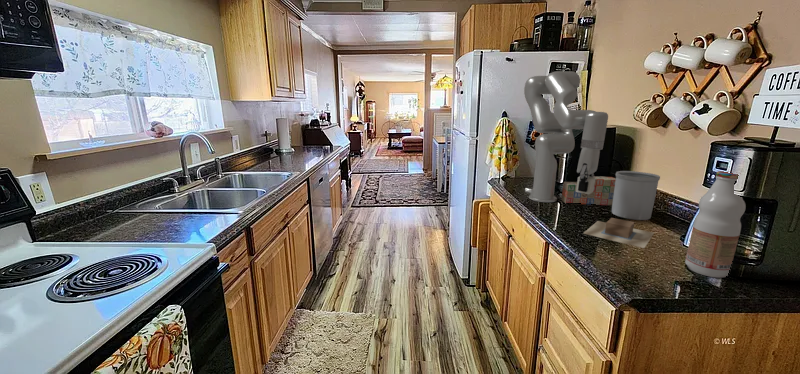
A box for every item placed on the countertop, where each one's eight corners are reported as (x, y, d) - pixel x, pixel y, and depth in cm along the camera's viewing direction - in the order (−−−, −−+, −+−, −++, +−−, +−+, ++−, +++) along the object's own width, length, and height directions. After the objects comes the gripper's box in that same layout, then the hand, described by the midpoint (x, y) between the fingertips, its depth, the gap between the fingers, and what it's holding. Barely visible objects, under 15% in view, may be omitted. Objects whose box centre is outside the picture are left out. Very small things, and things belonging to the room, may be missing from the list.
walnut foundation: (604, 233, 120) (606, 222, 119) (609, 227, 124) (611, 217, 123) (627, 238, 115) (629, 227, 114) (632, 232, 120) (634, 222, 119)
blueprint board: (582, 236, 120) (582, 233, 119) (597, 223, 132) (597, 220, 132) (643, 251, 108) (644, 248, 107) (653, 235, 120) (654, 232, 120)
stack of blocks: (565, 204, 158) (568, 178, 155) (561, 200, 164) (564, 175, 161) (614, 205, 155) (618, 179, 152) (608, 201, 161) (612, 176, 158)
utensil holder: (611, 207, 152) (617, 169, 148) (652, 213, 144) (659, 173, 140) (608, 216, 140) (614, 174, 136) (652, 223, 132) (660, 179, 128)
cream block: (575, 191, 136) (577, 177, 134) (579, 189, 139) (582, 175, 138) (589, 194, 132) (591, 179, 131) (593, 191, 136) (595, 177, 134)
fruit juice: (683, 271, 95) (705, 173, 88) (684, 259, 102) (705, 167, 95) (730, 282, 89) (757, 178, 82) (727, 269, 96) (752, 172, 89)
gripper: (588, 141, 139) (581, 183, 144) (574, 145, 127) (567, 192, 132) (609, 143, 134) (601, 187, 139) (596, 148, 122) (588, 196, 127)
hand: (584, 189), depth 136 cm, fingers closed on cream block, 4 cm apart
